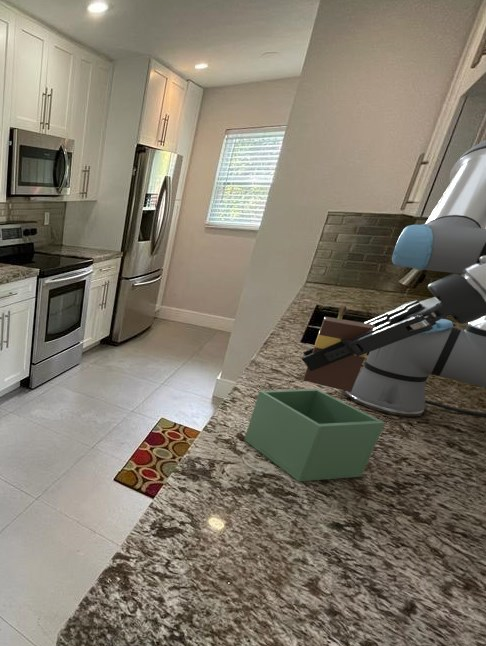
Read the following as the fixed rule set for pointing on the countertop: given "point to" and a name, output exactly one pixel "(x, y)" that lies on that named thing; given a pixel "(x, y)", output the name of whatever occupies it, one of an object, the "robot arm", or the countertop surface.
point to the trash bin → (312, 434)
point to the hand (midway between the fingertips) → (307, 361)
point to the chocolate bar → (344, 369)
